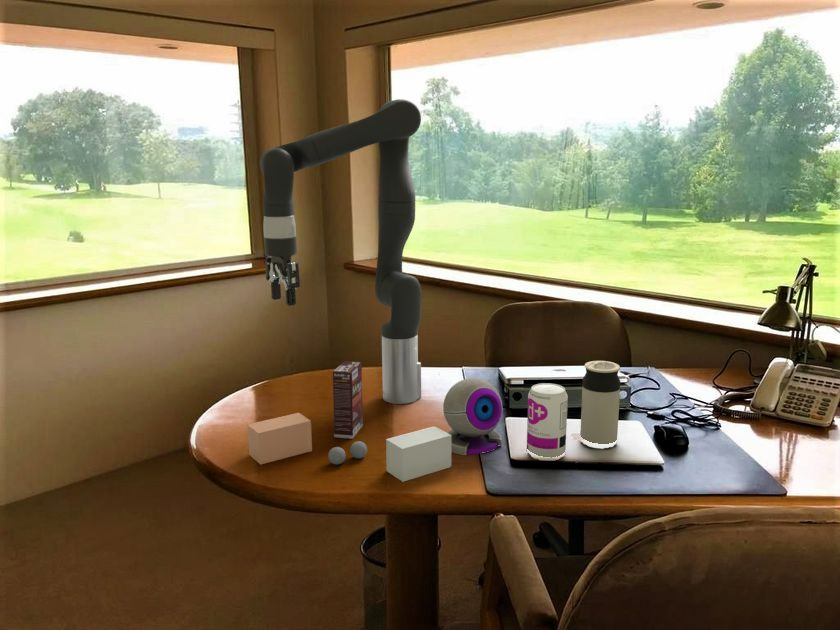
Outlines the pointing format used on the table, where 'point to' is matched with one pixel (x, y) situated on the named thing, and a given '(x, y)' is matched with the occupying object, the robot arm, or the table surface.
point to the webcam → (473, 416)
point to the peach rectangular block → (279, 438)
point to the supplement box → (347, 399)
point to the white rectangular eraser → (418, 453)
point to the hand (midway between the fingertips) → (283, 302)
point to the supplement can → (547, 420)
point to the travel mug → (600, 402)
